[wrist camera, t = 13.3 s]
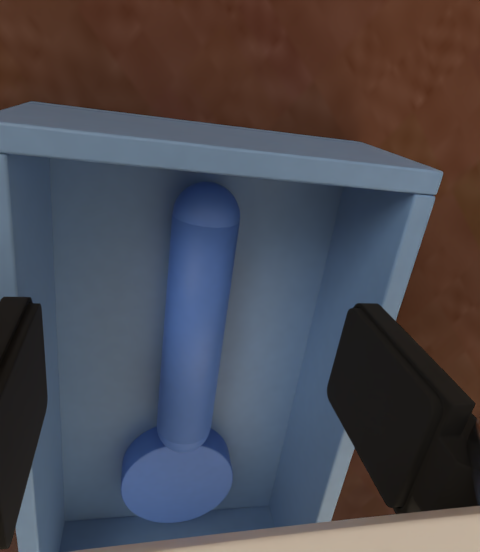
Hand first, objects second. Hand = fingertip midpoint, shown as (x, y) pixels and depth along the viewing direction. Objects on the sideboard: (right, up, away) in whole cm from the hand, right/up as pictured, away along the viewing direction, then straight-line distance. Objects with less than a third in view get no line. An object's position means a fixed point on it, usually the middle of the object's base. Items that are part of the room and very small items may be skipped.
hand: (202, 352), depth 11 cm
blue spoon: (-1, -1, +5) cm, 6 cm away
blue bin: (-1, -1, +6) cm, 6 cm away
